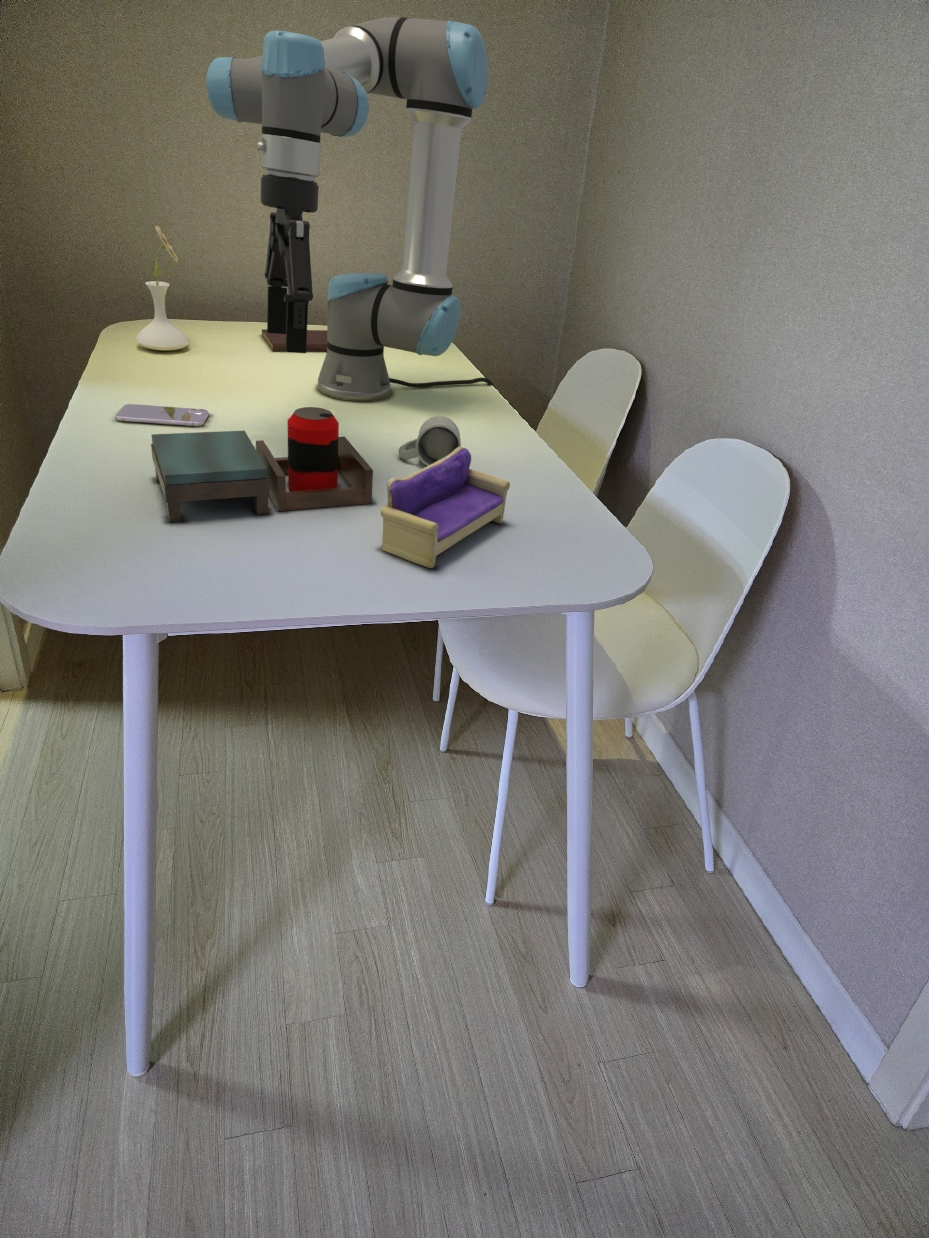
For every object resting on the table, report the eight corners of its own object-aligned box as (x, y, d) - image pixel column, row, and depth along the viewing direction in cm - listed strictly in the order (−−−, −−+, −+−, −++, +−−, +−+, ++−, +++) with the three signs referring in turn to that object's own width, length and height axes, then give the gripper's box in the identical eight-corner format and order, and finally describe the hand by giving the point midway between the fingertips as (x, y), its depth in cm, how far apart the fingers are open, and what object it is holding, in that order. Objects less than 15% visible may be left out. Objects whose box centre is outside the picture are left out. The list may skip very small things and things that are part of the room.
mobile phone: (124, 402, 145) (209, 408, 147) (125, 407, 145) (209, 413, 147) (113, 415, 138) (202, 421, 140) (113, 421, 139) (202, 427, 141)
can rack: (343, 467, 132) (344, 436, 129) (371, 503, 122) (373, 469, 119) (256, 473, 127) (255, 440, 124) (277, 511, 116) (277, 476, 113)
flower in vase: (180, 357, 176) (170, 233, 163) (128, 351, 175) (114, 226, 162) (198, 343, 187) (190, 226, 174) (149, 337, 187) (137, 220, 173)
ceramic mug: (457, 453, 143) (461, 412, 139) (458, 470, 136) (462, 427, 132) (399, 449, 143) (401, 407, 139) (397, 466, 136) (399, 422, 132)
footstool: (247, 472, 127) (245, 429, 123) (270, 514, 115) (269, 469, 111) (154, 478, 121) (149, 433, 117) (168, 523, 109) (163, 475, 105)
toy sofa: (429, 572, 105) (436, 501, 100) (377, 551, 109) (380, 481, 103) (506, 522, 121) (515, 459, 115) (458, 505, 124) (465, 443, 119)
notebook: (261, 335, 199) (261, 327, 198) (338, 336, 206) (338, 328, 205) (273, 351, 188) (272, 343, 187) (354, 352, 195) (354, 343, 194)
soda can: (328, 501, 121) (329, 425, 114) (281, 493, 121) (279, 416, 115) (343, 483, 127) (345, 409, 121) (298, 475, 128) (297, 402, 121)
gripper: (245, 169, 113) (245, 324, 123) (280, 175, 94) (276, 359, 104) (297, 177, 116) (293, 328, 126) (342, 184, 97) (332, 362, 107)
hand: (285, 342), depth 115 cm, fingers open, 13 cm apart
